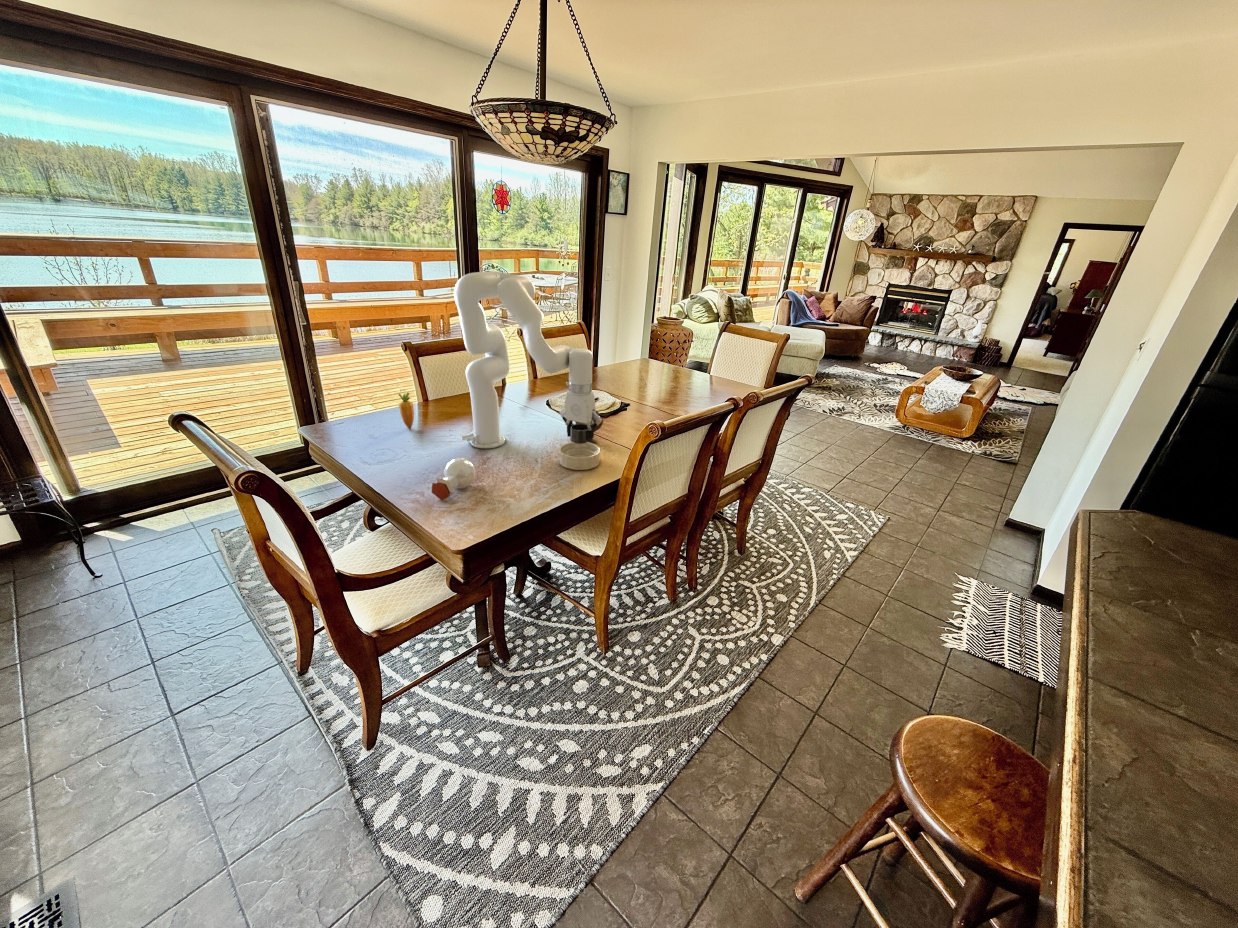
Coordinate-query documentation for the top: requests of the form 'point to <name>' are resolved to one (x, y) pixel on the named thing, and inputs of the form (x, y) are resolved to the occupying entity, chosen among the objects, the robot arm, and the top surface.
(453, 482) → the potion bottle
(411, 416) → the carrot
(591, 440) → the ice cream bowl
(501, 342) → the robot arm
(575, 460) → the cream bowl
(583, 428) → the black bowl
